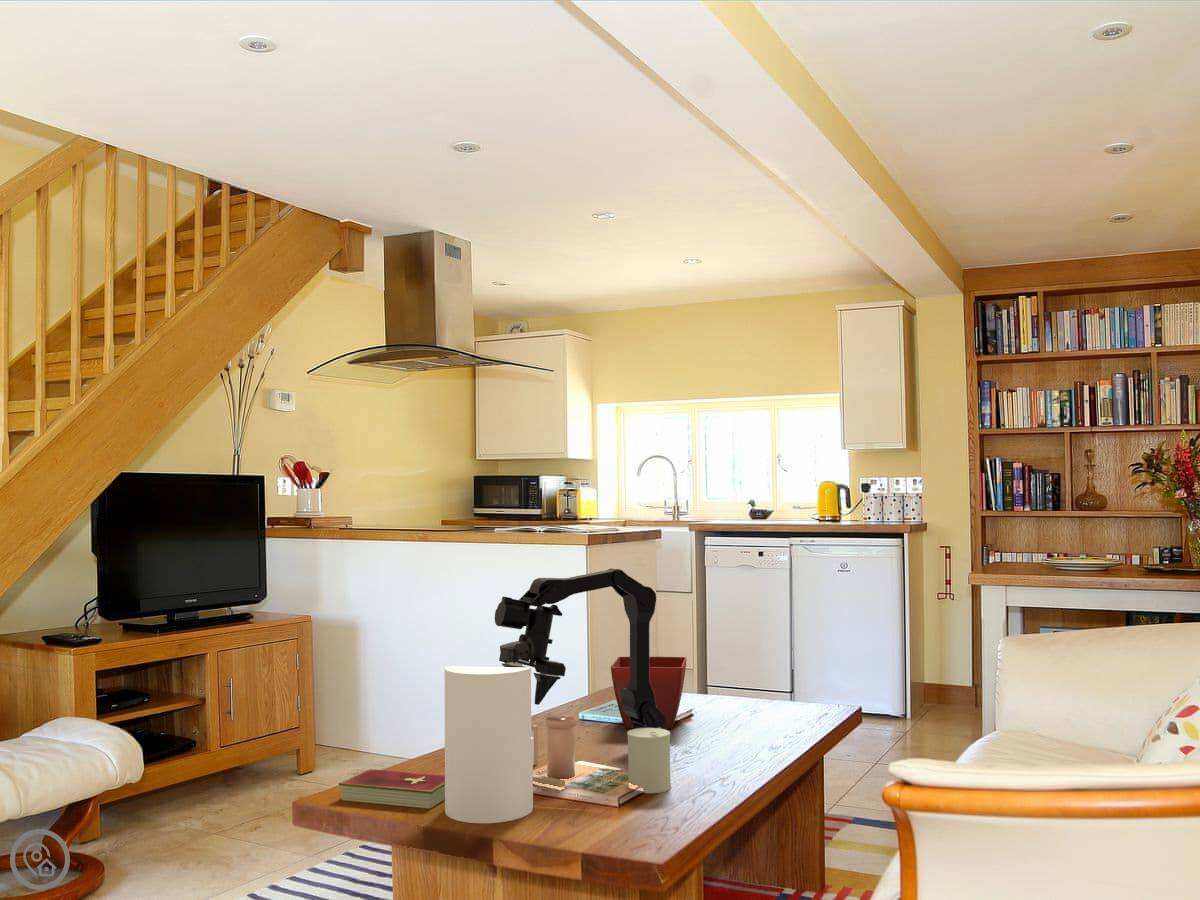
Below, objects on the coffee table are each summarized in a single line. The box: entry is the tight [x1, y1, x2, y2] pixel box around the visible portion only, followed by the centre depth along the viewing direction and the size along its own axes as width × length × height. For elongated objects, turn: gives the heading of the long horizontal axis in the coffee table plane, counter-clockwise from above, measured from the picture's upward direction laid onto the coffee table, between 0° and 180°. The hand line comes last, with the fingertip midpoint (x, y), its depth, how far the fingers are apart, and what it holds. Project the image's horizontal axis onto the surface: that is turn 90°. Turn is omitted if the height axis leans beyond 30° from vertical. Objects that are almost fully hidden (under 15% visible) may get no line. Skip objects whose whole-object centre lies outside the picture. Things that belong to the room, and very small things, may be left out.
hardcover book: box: [338, 768, 445, 809], centre depth 215 cm, size 12×21×4 cm, turn 72°
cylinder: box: [444, 665, 534, 824], centre depth 206 cm, size 17×17×28 cm
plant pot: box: [610, 656, 688, 730], centre depth 281 cm, size 19×19×17 cm
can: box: [626, 728, 672, 794], centre depth 221 cm, size 9×9×12 cm
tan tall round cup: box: [545, 714, 577, 779], centre depth 227 cm, size 7×7×13 cm
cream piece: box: [531, 724, 621, 787], centre depth 232 cm, size 21×19×9 cm
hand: (525, 700), depth 238 cm, fingers open, 9 cm apart
